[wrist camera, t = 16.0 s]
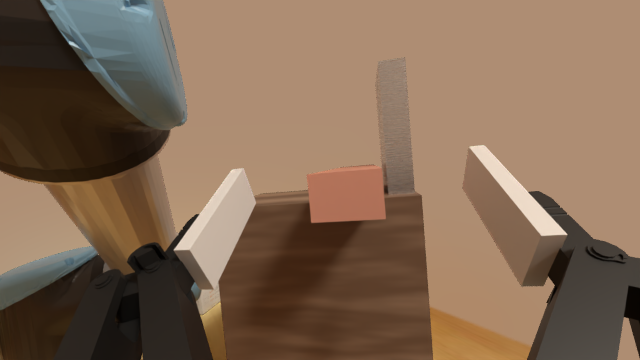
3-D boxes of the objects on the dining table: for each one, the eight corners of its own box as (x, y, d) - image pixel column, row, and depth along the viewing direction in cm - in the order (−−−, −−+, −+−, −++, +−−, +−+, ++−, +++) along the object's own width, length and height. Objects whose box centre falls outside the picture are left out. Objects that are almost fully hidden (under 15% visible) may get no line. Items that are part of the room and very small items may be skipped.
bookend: (414, 193, 26) (405, 57, 25) (388, 194, 26) (378, 61, 26) (403, 185, 34) (395, 82, 33) (383, 187, 34) (375, 85, 33)
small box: (207, 297, 73) (203, 260, 73) (224, 299, 72) (220, 261, 71) (184, 313, 66) (179, 272, 65) (202, 315, 64) (197, 273, 63)
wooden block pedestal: (443, 505, 25) (421, 195, 24) (240, 478, 29) (210, 209, 28) (416, 384, 39) (401, 183, 37) (281, 376, 43) (262, 193, 41)
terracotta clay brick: (385, 219, 16) (381, 168, 15) (311, 222, 16) (306, 174, 16) (374, 185, 37) (373, 164, 37) (342, 188, 38) (341, 167, 38)
